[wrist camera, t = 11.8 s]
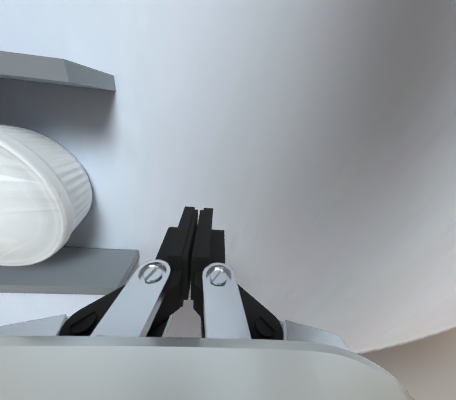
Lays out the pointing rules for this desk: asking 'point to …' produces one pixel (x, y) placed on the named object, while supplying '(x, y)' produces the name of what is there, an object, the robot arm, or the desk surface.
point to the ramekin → (38, 196)
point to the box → (67, 256)
